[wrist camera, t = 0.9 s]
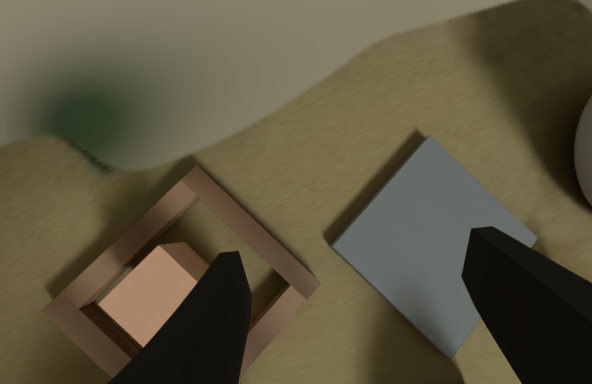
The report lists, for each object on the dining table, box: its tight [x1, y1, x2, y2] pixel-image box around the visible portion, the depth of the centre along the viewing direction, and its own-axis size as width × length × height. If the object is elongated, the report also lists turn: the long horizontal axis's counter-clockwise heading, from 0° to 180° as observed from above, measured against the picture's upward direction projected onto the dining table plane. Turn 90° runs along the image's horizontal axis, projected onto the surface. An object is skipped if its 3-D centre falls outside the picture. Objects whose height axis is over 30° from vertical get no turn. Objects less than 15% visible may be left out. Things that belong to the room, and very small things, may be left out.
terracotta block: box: [98, 242, 210, 347], centre depth 18 cm, size 4×6×6 cm, turn 47°
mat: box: [330, 136, 538, 359], centre depth 24 cm, size 12×12×1 cm
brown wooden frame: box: [41, 165, 321, 379], centre depth 21 cm, size 13×12×2 cm
